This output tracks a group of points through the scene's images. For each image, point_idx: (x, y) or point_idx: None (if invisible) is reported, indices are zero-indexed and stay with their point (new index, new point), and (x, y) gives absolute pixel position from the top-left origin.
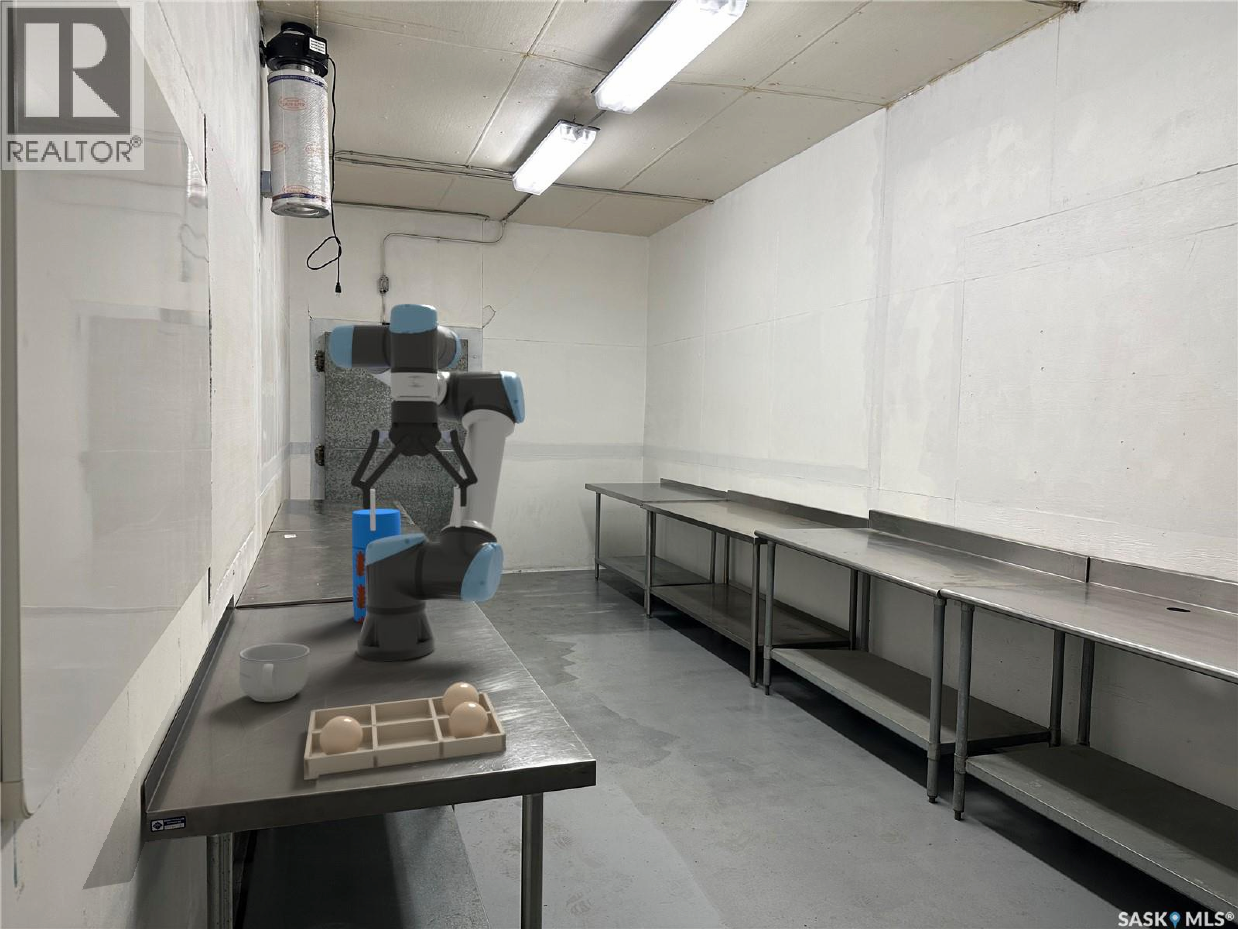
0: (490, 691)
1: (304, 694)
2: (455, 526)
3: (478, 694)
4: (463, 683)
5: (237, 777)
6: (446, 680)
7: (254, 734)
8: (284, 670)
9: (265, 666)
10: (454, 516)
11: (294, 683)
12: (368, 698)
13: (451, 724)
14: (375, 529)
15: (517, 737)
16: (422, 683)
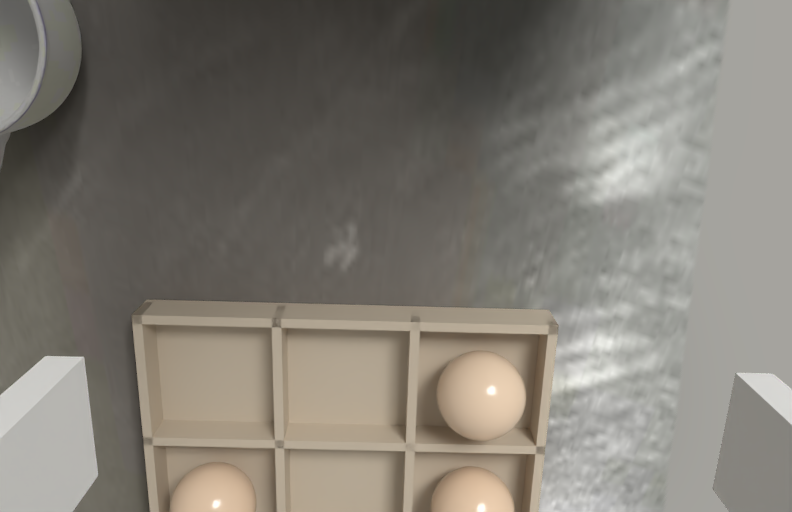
0: (591, 198)
1: (93, 48)
2: (719, 465)
3: (536, 333)
4: (493, 419)
5: None
6: (496, 63)
7: (25, 294)
8: (1, 133)
9: None
10: (771, 455)
11: (51, 111)
12: (271, 143)
13: None
14: (94, 479)
15: (567, 477)
16: (424, 66)
